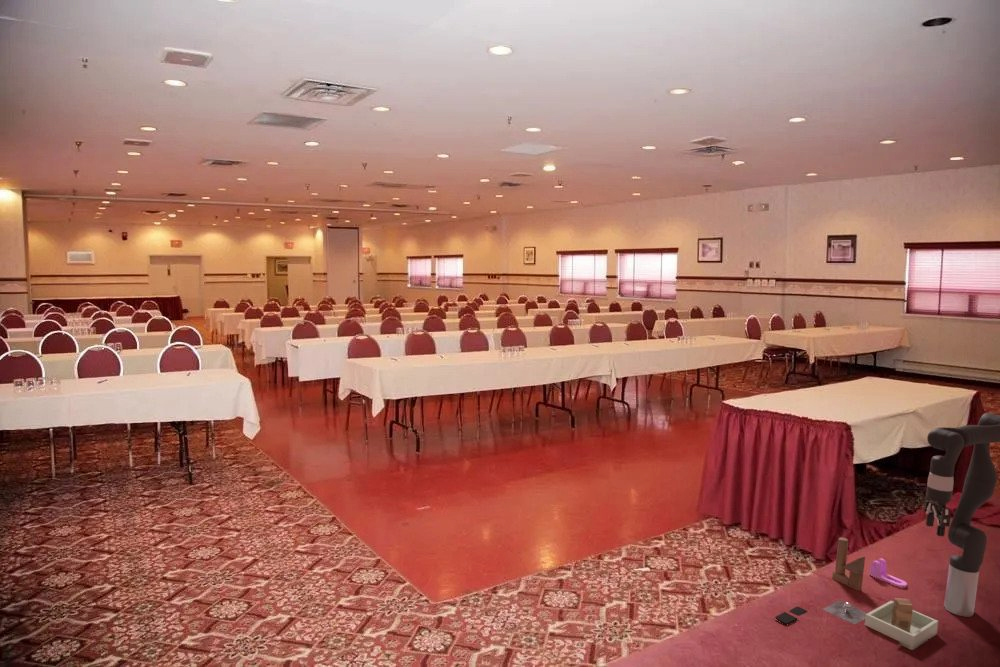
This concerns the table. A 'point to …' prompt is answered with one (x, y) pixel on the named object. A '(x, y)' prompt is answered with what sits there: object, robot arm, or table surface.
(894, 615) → the strut
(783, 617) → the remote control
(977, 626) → the table surface
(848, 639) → the table surface
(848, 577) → the brown wooden angled stand
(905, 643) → the tray
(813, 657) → the table surface
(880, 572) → the bracket
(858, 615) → the stud plate
